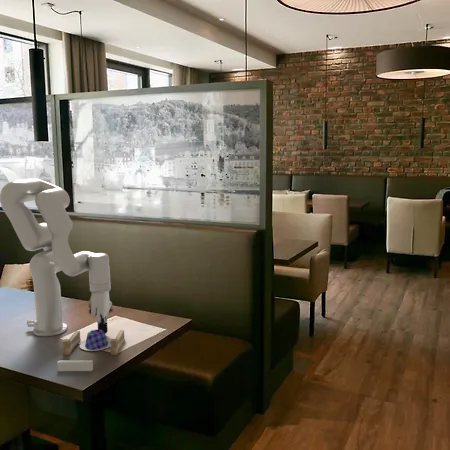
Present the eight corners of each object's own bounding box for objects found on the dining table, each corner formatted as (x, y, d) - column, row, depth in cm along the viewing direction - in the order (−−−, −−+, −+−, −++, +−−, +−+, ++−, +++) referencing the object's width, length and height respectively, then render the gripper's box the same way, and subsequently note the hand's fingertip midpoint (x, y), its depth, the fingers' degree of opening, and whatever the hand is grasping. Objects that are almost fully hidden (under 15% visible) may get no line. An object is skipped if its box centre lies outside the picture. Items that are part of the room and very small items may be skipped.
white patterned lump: (111, 312, 210) (98, 294, 207) (94, 319, 213) (81, 302, 210) (117, 303, 217) (105, 285, 214) (101, 310, 220) (88, 293, 217)
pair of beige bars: (63, 355, 167) (62, 341, 166) (75, 339, 180) (74, 326, 179) (116, 354, 166) (116, 341, 166) (125, 339, 180) (124, 326, 179)
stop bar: (57, 371, 155) (57, 362, 154) (59, 369, 156) (58, 360, 156) (91, 371, 155) (91, 362, 154) (93, 368, 156) (92, 360, 156)
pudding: (98, 336, 183) (97, 323, 182) (120, 343, 177) (120, 329, 176) (72, 347, 173) (71, 334, 173) (95, 355, 167) (94, 341, 166)
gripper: (95, 280, 188) (98, 325, 191) (84, 292, 173) (87, 340, 176) (114, 280, 188) (117, 325, 191) (105, 292, 173) (108, 340, 176)
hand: (102, 332), depth 183 cm, fingers closed
